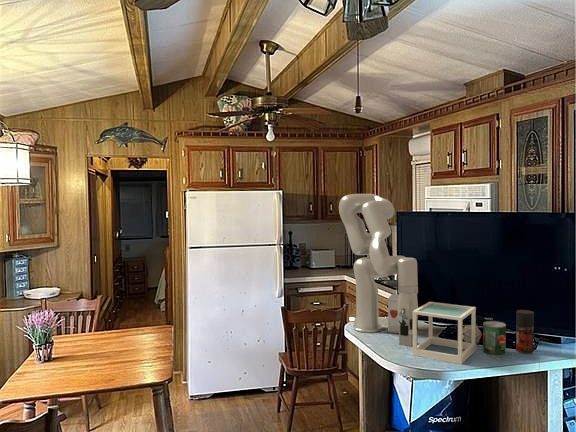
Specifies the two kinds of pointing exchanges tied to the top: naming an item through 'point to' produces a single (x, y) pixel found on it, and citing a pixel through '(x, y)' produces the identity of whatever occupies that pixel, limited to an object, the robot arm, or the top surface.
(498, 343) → the canned tomato
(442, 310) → the trapdoor
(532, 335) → the deodorant
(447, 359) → the frame
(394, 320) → the supplement box
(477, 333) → the game die
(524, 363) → the top surface
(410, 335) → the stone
